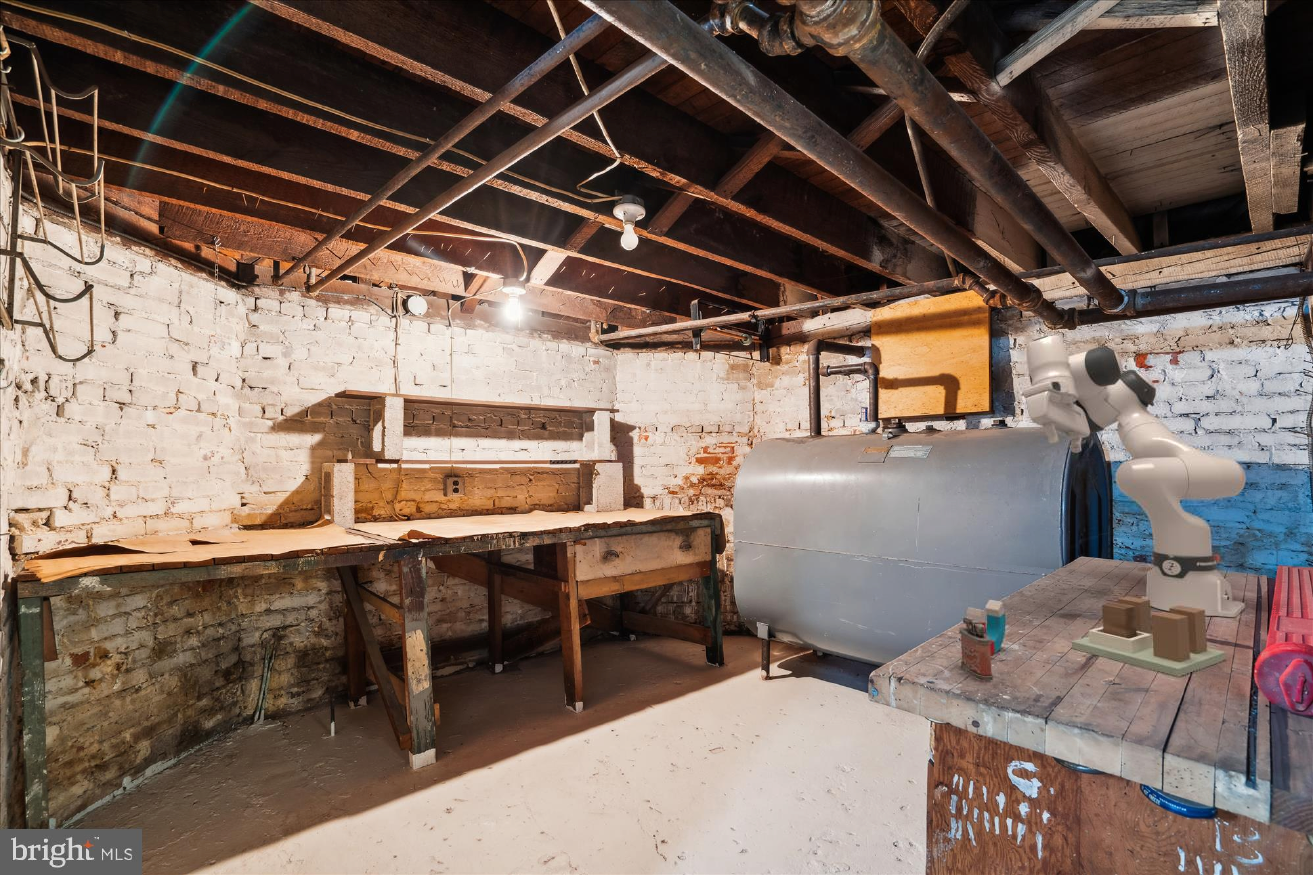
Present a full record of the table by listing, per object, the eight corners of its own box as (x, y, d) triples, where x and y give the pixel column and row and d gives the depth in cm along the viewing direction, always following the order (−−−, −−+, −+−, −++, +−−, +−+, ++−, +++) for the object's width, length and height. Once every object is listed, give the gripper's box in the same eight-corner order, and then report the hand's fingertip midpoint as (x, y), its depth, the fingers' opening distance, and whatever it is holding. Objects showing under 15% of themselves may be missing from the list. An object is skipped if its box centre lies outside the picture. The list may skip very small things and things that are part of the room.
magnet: (993, 644, 124) (991, 598, 124) (1007, 648, 122) (1005, 600, 122) (967, 657, 117) (964, 608, 117) (981, 660, 115) (978, 610, 115)
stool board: (1119, 634, 128) (1116, 592, 128) (1225, 659, 112) (1222, 610, 112) (1071, 648, 120) (1069, 603, 121) (1179, 677, 104) (1176, 624, 104)
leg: (1114, 640, 120) (1112, 602, 120) (1137, 645, 117) (1135, 606, 117) (1104, 643, 118) (1101, 604, 119) (1126, 649, 115) (1124, 608, 115)
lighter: (997, 681, 105) (995, 626, 105) (979, 681, 105) (976, 626, 105) (974, 665, 113) (971, 614, 113) (956, 665, 113) (954, 614, 113)
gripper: (1064, 409, 149) (1074, 459, 144) (1018, 389, 140) (1027, 442, 135) (1091, 401, 144) (1103, 453, 139) (1045, 379, 134) (1056, 434, 130)
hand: (1065, 447), depth 137 cm, fingers open, 8 cm apart
